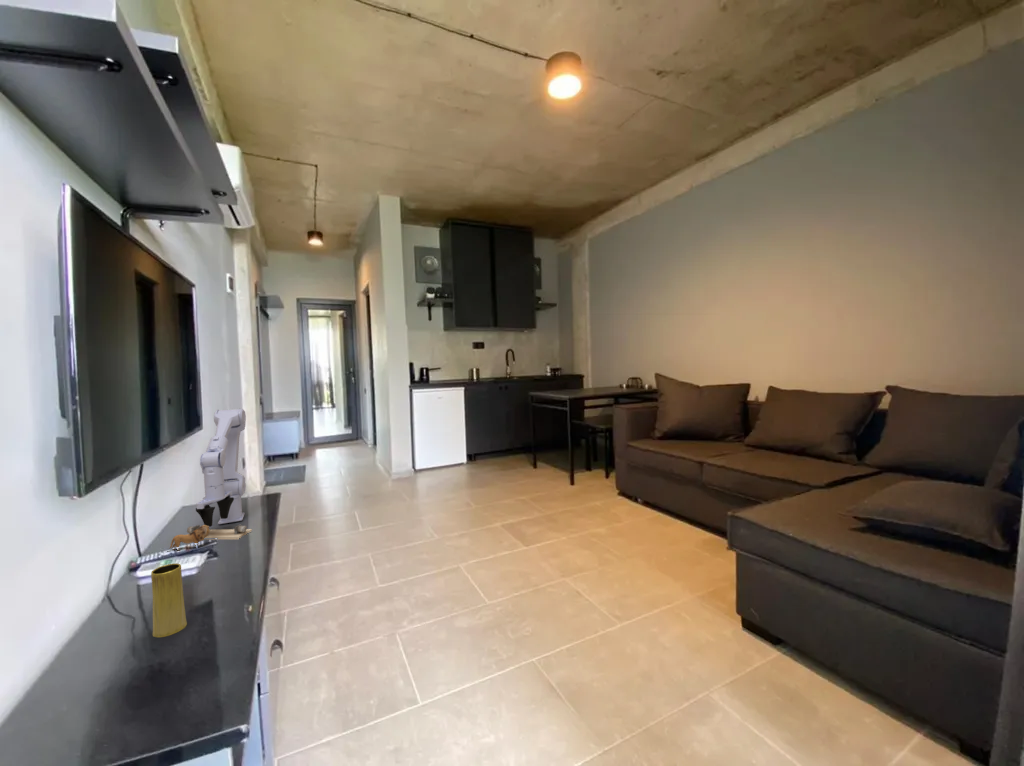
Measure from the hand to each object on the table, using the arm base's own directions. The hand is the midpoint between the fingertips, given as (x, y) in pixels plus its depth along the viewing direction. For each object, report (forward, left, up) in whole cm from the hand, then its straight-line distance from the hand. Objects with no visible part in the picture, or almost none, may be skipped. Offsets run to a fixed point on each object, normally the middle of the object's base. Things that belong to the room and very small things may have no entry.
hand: (216, 522), depth 150 cm
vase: (+62, 0, -5) cm, 62 cm away
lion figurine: (+9, -7, -5) cm, 13 cm away
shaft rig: (0, 0, -5) cm, 5 cm away
